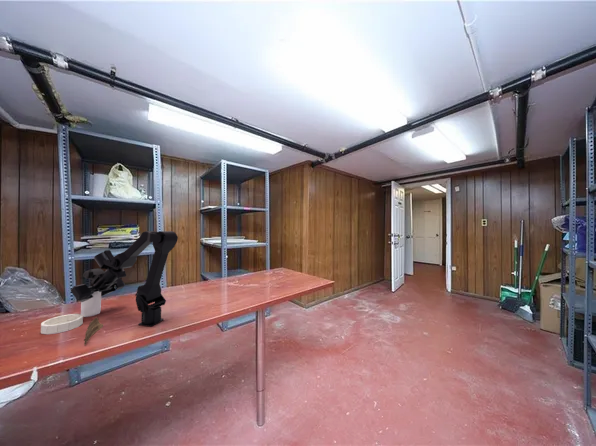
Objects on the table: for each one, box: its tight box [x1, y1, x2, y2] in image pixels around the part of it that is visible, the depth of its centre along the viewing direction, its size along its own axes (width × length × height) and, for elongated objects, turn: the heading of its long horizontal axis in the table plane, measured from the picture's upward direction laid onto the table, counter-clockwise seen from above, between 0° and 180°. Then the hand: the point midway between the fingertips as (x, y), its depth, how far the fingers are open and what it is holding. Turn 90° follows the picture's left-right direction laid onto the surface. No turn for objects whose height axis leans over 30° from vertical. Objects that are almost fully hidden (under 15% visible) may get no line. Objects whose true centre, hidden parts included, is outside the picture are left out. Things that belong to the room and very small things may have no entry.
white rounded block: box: [80, 286, 102, 318], centre depth 97 cm, size 6×6×12 cm
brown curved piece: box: [83, 315, 104, 346], centre depth 79 cm, size 15×2×5 cm, turn 30°
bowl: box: [40, 313, 84, 335], centre depth 84 cm, size 11×11×3 cm
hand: (89, 299), depth 97 cm, fingers closed on white rounded block, 5 cm apart
